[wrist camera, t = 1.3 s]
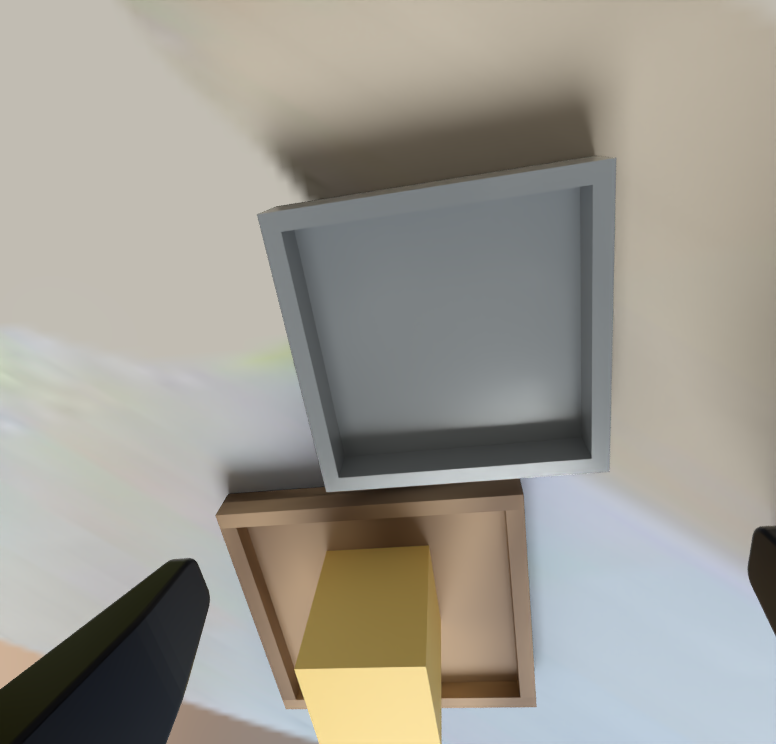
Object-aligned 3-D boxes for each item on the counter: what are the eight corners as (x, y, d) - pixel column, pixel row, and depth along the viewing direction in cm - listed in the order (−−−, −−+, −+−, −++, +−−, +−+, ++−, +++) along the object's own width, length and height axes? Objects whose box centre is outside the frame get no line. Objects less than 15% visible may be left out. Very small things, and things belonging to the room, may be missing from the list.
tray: (518, 472, 20) (523, 494, 19) (531, 678, 25) (536, 706, 24) (228, 493, 22) (215, 515, 21) (293, 682, 27) (285, 709, 26)
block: (428, 545, 22) (425, 666, 17) (441, 620, 23) (441, 750, 18) (326, 551, 22) (294, 669, 17) (345, 623, 24) (321, 750, 19)
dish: (595, 155, 16) (616, 157, 14) (593, 441, 20) (609, 471, 18) (276, 206, 17) (257, 214, 15) (336, 461, 21) (326, 492, 19)
